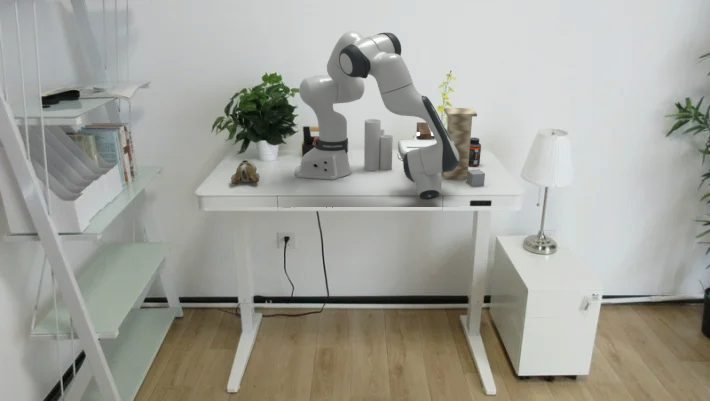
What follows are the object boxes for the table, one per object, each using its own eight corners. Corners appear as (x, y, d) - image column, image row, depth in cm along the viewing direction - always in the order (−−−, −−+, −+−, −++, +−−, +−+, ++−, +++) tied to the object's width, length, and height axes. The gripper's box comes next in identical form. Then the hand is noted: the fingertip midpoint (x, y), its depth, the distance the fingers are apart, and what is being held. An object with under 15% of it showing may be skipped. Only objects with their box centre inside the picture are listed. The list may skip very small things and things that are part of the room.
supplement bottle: (479, 167, 229) (481, 140, 225) (465, 166, 230) (467, 140, 226) (479, 162, 235) (481, 137, 231) (465, 162, 236) (467, 136, 232)
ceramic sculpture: (259, 153, 217) (257, 167, 204) (261, 173, 221) (259, 188, 207) (232, 154, 216) (228, 168, 203) (234, 175, 220) (230, 190, 207)
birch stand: (443, 179, 215) (447, 113, 206) (440, 171, 225) (444, 107, 215) (471, 179, 215) (477, 113, 205) (467, 171, 224) (472, 108, 215)
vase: (365, 171, 224) (365, 123, 217) (363, 165, 231) (363, 119, 223) (392, 170, 225) (394, 122, 218) (389, 164, 232) (390, 118, 225)
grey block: (471, 187, 208) (472, 174, 206) (466, 182, 212) (467, 170, 210) (483, 185, 209) (485, 173, 207) (478, 181, 213) (479, 169, 211)
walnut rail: (420, 144, 201) (420, 133, 200) (416, 132, 220) (416, 122, 219) (430, 144, 201) (431, 134, 200) (426, 132, 220) (426, 122, 219)
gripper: (397, 166, 198) (396, 139, 207) (454, 167, 198) (451, 139, 206) (398, 154, 193) (397, 127, 202) (456, 155, 193) (453, 127, 201)
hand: (425, 133), depth 204 cm, fingers closed on walnut rail, 4 cm apart
